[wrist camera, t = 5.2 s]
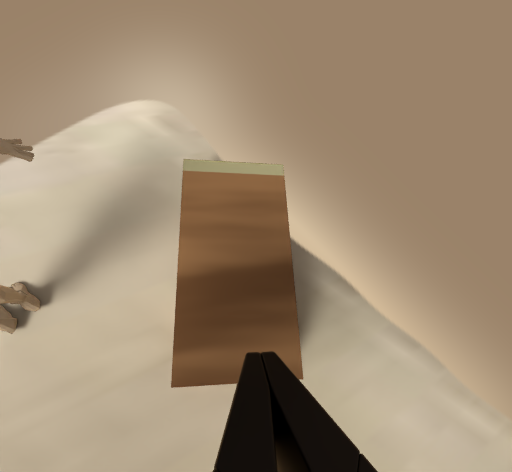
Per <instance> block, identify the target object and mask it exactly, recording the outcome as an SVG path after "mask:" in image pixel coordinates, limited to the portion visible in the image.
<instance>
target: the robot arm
mask: <svg viewBox="0 0 512 472" xmlns="http://www.w3.org/2000/svg"><path fill="white" fill-rule="evenodd" d="M213 472H378V471H377V470H376V469H375V468H374V467H373V466H372V465H371V463H370V462H369V461H368V460H367V459H366V458H365V456H364V455H363V454H360V451H359V450H358V448H357V447H356V446H355V445H354V444H353V443H352V441H351V440H350V439H349V438H348V437H347V436H346V434H345V433H344V432H343V431H342V430H341V428H340V427H339V426H338V425H337V424H336V423H335V421H334V420H333V419H332V418H331V417H330V416H329V414H328V413H327V412H326V411H325V410H324V409H323V407H322V406H321V405H320V404H319V403H318V402H317V400H316V399H315V398H314V397H313V396H312V395H311V393H310V392H309V391H308V390H307V389H306V388H305V386H304V385H303V384H302V383H301V382H300V381H299V379H298V378H297V377H296V376H295V375H294V374H293V372H292V371H291V370H290V369H289V368H288V367H287V365H286V364H285V363H284V362H283V361H282V359H281V358H280V357H279V356H278V355H277V354H276V353H275V352H274V351H267V352H261V353H259V352H248V353H246V355H245V358H244V362H243V366H242V369H241V373H240V376H239V380H238V383H237V387H236V391H235V394H234V398H233V401H232V405H231V409H230V412H229V416H228V419H227V423H226V426H225V430H224V434H223V437H222V441H221V444H220V448H219V452H218V455H217V459H216V462H215V466H214V470H213Z"/></svg>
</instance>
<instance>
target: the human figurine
mask: <svg viewBox="0 0 512 472" xmlns="http://www.w3.org/2000/svg"><path fill="white" fill-rule="evenodd" d="M14 144H22V141H21V139H13V140H5V139H0V154H8V155H11V156H14V157H18V158H21V159H24V160H27V161H29V162H31V161H32V159H33V157H34V154H33V153H31V152H27V151H32V150H33V148H32V147H31V146H21V145H14ZM23 150H26V151H23ZM11 286H12V287H13V288H14V289H13V288H11V287H5V286H2V285H0V304H3V303H10V304H20V305H21V306H22V307H23V308H24V309H25V310H31V311H37V310H39V309H40V301H39V300H38V299H37V298H36V297H35V296H34V295H32V294H30V293H29V292H28V290H27V288H26V287H25V285H23V284H22V283H15V285H14V284H12V285H11ZM16 325H17V318H13V317H12V316H11V314H10V312H8V311H6V310H5V309H4V308H3V306H2V305H0V330H1V331H7V332H9V333H11V334H12V333H13V332H14V331H15V329H16Z"/></svg>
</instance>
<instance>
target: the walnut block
mask: <svg viewBox="0 0 512 472" xmlns="http://www.w3.org/2000/svg"><path fill="white" fill-rule="evenodd" d="M267 351H274V352H275V353H276V354H277V355H278V356H279V357H280V358H281V359H282V361H283V362H284V363H285V364H286V365H287V367H288V368H289V369H290V370H291V371H292V372H293V374H294V375H295V376H296V377H297V378H298V379H303V371H302V361H301V350H300V339H299V329H298V318H297V308H296V297H295V286H294V276H293V265H292V254H291V244H290V233H289V222H288V212H287V201H286V190H285V180H284V170H283V165H281V164H263V163H245V162H226V161H209V160H191V159H184V162H183V180H182V199H181V217H180V235H179V254H178V272H177V290H176V308H175V327H174V345H173V363H172V382H171V388H173V387H188V386H204V385H220V384H235V383H238V380H239V376H240V373H241V369H242V366H243V362H244V358H245V355H246V353H248V352H259V353H261V352H267Z"/></svg>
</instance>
